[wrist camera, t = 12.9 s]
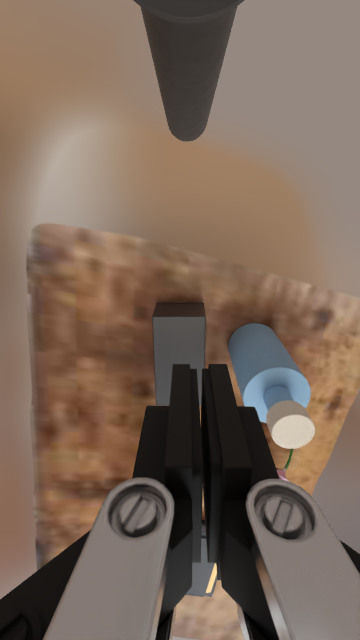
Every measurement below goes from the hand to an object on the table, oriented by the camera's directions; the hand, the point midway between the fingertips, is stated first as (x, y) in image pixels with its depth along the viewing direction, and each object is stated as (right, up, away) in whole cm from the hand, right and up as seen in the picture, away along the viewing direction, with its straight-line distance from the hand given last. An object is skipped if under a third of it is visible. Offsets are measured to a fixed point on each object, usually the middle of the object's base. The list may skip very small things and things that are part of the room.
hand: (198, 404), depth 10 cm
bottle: (+5, -1, +30) cm, 31 cm away
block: (-1, -1, +31) cm, 31 cm away
